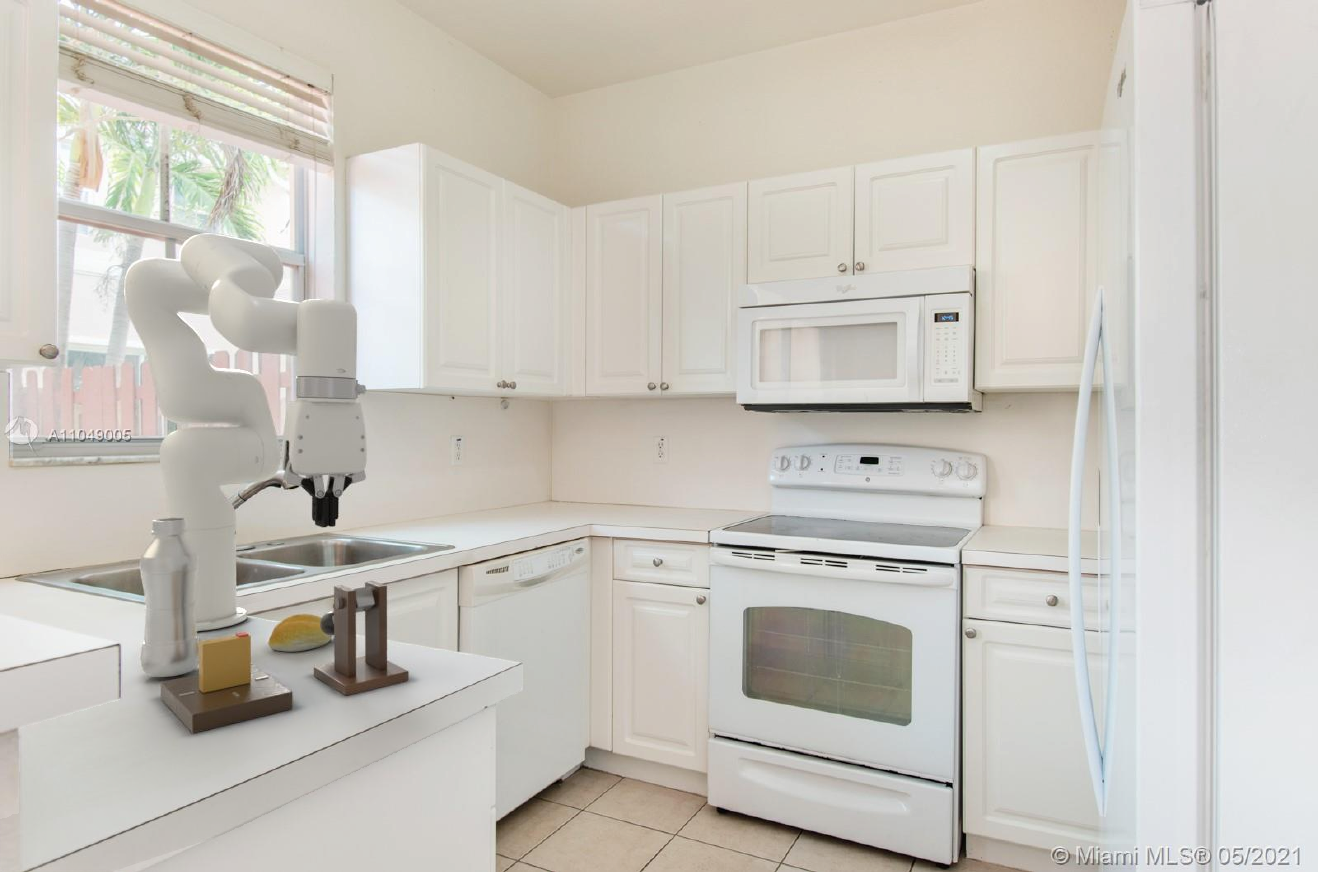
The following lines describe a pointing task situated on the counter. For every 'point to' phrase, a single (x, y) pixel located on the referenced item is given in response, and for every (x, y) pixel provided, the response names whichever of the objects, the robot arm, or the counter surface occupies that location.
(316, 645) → the bread roll
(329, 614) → the door lever
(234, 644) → the lock knob
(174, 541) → the plastic bottle
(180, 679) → the plate
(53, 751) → the counter surface
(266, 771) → the counter surface
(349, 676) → the handle bracket
